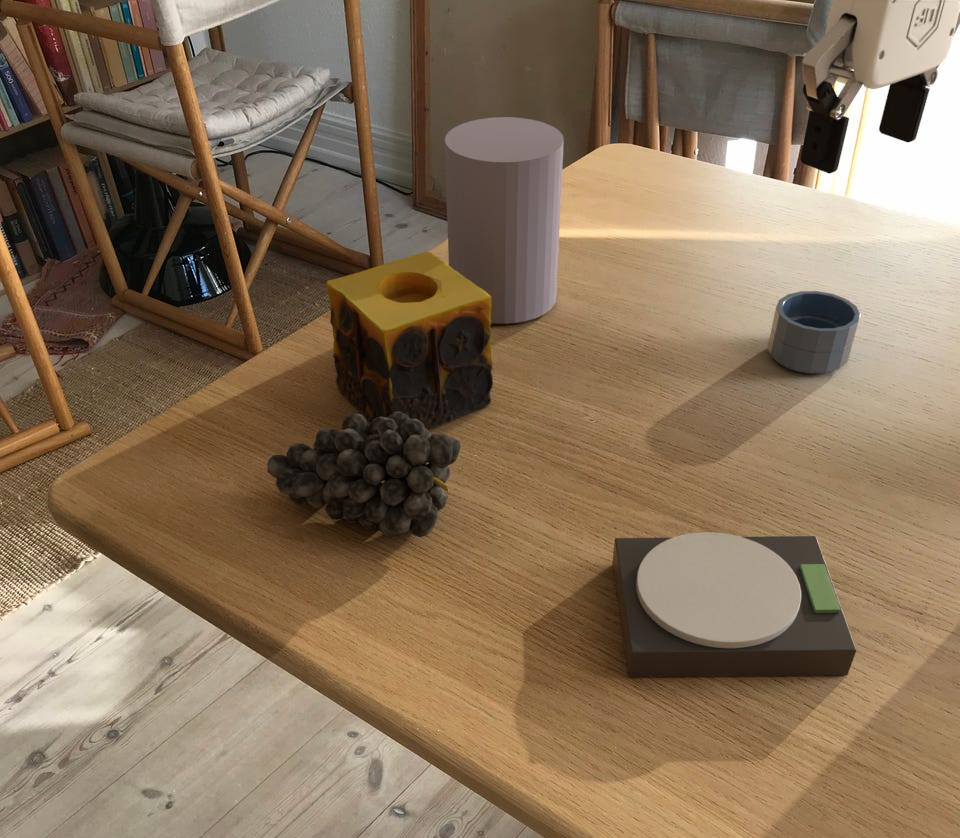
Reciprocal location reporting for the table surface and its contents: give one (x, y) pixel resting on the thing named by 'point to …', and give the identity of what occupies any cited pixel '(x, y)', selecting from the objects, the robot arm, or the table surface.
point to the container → (506, 212)
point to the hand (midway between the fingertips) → (858, 151)
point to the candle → (412, 340)
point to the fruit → (372, 473)
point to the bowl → (813, 331)
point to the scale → (729, 607)
